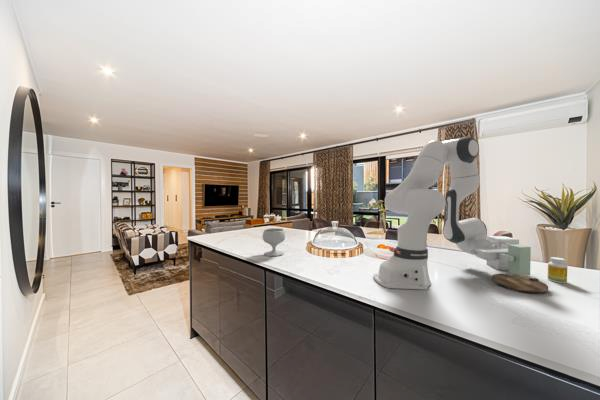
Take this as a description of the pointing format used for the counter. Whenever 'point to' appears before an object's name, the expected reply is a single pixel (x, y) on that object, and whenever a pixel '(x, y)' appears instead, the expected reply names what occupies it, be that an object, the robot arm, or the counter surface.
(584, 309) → the counter surface
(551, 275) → the supplement bottle
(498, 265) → the supplement box
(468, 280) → the counter surface
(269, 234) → the chalice
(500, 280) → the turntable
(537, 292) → the base
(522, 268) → the spindle block
